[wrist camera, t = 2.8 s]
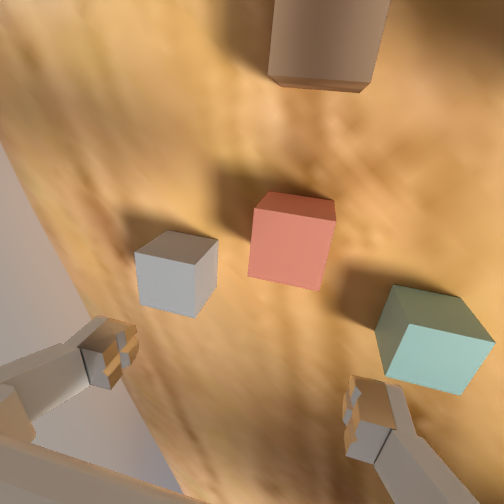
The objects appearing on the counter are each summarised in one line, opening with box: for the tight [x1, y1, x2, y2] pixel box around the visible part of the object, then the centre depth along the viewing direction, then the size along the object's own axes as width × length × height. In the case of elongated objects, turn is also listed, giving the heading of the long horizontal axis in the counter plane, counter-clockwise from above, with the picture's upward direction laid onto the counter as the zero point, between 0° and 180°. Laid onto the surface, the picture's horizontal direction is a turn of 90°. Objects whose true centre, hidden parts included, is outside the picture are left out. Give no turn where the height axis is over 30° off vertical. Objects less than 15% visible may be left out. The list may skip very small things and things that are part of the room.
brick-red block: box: [248, 191, 336, 291], centre depth 20 cm, size 5×5×5 cm
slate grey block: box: [134, 230, 218, 318], centre depth 23 cm, size 5×5×5 cm
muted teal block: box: [375, 284, 496, 395], centre depth 20 cm, size 5×5×5 cm
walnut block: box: [268, 0, 391, 93], centre depth 14 cm, size 5×5×5 cm
